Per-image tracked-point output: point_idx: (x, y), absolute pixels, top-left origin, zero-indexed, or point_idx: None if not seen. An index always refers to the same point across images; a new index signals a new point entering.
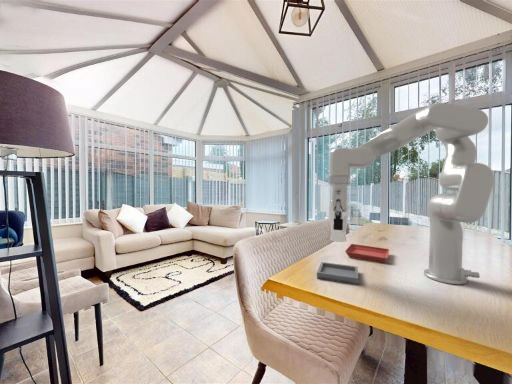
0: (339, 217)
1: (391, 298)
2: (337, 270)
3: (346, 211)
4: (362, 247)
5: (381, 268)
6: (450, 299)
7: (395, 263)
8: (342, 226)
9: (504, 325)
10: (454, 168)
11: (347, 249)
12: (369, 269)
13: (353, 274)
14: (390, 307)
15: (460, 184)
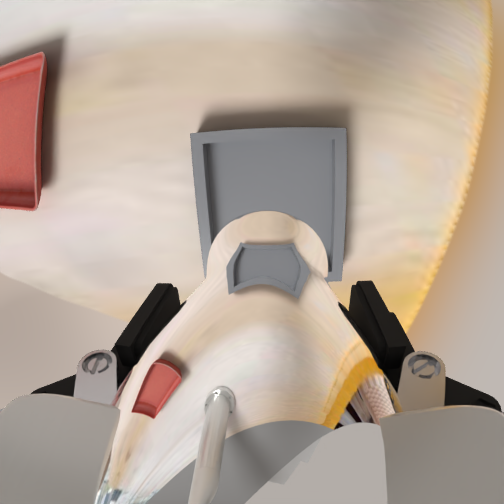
0: (449, 387)
1: (398, 43)
2: (241, 210)
3: (380, 408)
4: None
5: (110, 59)
6: None
7: (44, 37)
8: (381, 298)
9: None
10: None
11: (13, 205)
12: (140, 94)
13: (259, 145)
14: (452, 65)
15: None
